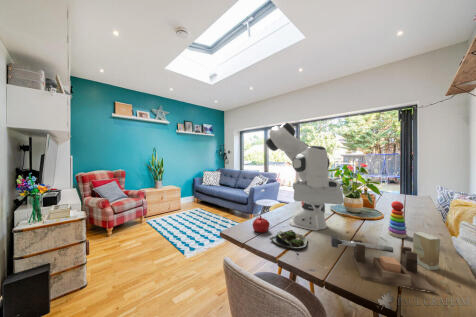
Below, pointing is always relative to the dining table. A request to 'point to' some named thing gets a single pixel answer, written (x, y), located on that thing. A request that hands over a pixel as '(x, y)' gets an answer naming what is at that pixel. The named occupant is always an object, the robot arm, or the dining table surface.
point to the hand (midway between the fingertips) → (317, 212)
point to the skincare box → (426, 250)
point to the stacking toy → (397, 221)
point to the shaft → (336, 241)
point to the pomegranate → (260, 225)
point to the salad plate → (290, 240)
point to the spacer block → (390, 264)
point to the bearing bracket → (375, 272)
